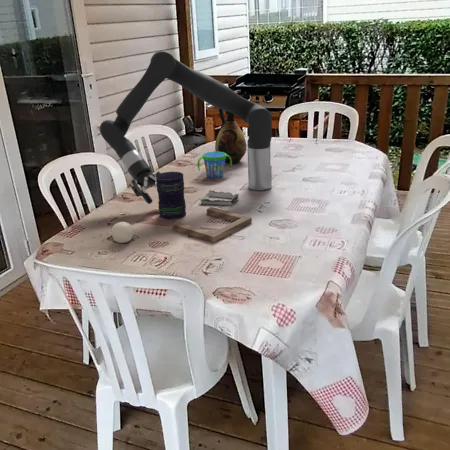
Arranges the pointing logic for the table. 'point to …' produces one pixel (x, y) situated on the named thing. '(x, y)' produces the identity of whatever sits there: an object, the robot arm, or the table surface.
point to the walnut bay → (214, 236)
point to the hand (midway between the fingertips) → (159, 199)
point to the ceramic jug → (230, 139)
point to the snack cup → (214, 163)
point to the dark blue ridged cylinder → (171, 195)
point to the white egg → (122, 232)
